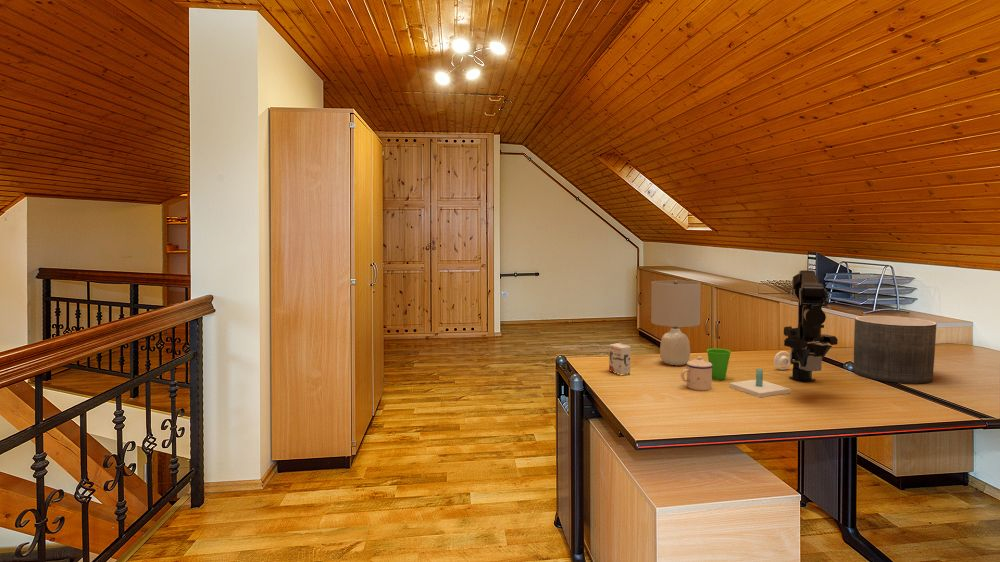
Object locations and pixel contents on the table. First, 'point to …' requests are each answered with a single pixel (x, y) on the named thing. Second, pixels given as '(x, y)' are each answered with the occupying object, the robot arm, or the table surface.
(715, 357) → the cup
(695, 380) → the teacup with lid
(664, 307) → the lamp
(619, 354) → the ink box
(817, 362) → the steel collar
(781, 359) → the ring around a ball
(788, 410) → the table surface
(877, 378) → the planter
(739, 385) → the post block
